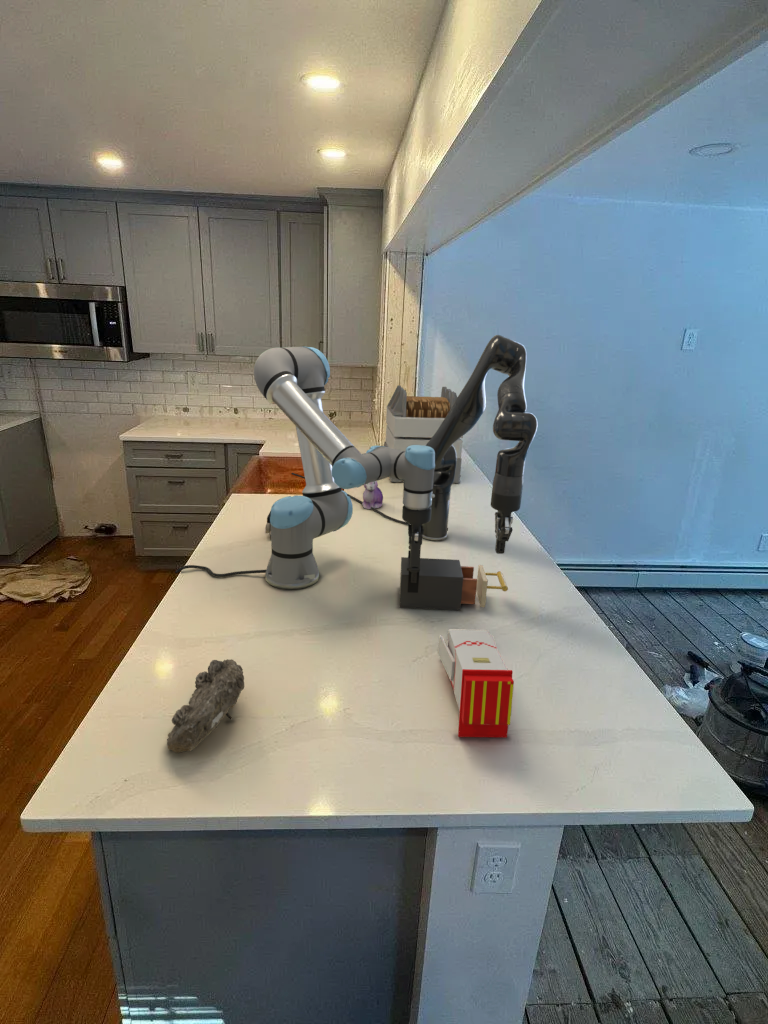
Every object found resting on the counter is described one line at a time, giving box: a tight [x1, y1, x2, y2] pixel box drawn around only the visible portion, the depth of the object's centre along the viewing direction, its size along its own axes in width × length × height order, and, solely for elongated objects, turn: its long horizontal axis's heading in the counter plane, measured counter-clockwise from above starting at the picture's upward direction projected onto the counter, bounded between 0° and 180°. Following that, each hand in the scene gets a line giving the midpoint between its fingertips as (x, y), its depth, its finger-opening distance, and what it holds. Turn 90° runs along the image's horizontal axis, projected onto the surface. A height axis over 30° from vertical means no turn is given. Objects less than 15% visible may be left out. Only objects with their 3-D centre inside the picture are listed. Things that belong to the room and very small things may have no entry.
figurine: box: [361, 481, 384, 510], centre depth 224 cm, size 9×10×15 cm
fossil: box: [166, 658, 245, 754], centre depth 106 cm, size 22×10×15 cm
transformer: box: [383, 384, 464, 484], centre depth 268 cm, size 34×33×41 cm
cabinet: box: [399, 556, 463, 611], centre depth 154 cm, size 16×11×10 cm
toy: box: [437, 628, 515, 738], centre depth 117 cm, size 12×13×30 cm
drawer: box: [461, 564, 509, 608], centre depth 154 cm, size 20×10×8 cm, turn 88°
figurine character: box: [265, 510, 271, 538], centre depth 195 cm, size 7×8×15 cm
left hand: (412, 581), depth 154 cm, fingers closed on cabinet, 11 cm apart
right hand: (499, 552), depth 150 cm, fingers closed
